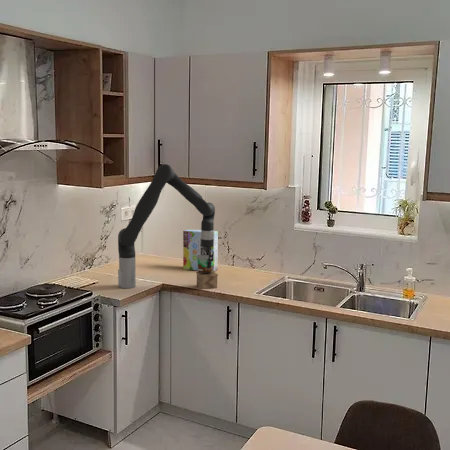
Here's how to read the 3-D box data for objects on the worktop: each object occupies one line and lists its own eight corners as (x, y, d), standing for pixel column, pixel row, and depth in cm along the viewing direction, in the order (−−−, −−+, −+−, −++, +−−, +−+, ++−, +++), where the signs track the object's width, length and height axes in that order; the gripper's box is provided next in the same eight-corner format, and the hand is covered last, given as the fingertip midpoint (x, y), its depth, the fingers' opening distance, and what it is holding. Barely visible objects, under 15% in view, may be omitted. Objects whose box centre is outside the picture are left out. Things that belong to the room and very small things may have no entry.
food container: (203, 273, 318) (204, 256, 316) (196, 272, 322) (196, 254, 320) (219, 270, 326) (219, 253, 325) (211, 268, 331) (211, 251, 329)
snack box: (218, 269, 369) (218, 230, 366) (213, 272, 361) (214, 232, 358) (187, 266, 377) (188, 228, 373) (182, 269, 369) (182, 230, 365)
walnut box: (202, 289, 320) (202, 275, 318) (195, 285, 328) (196, 272, 327) (217, 288, 324) (218, 274, 322) (211, 284, 332) (211, 270, 331)
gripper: (196, 236, 327) (196, 264, 329) (206, 240, 314) (205, 270, 316) (208, 235, 330) (208, 264, 332) (218, 239, 317) (217, 269, 319)
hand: (206, 266), depth 324 cm, fingers closed on food container, 6 cm apart
